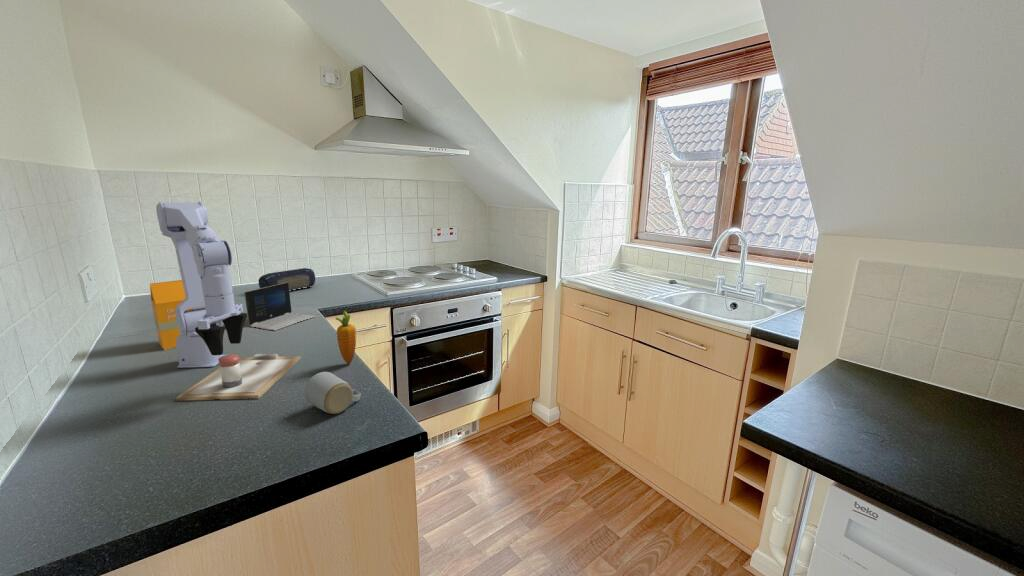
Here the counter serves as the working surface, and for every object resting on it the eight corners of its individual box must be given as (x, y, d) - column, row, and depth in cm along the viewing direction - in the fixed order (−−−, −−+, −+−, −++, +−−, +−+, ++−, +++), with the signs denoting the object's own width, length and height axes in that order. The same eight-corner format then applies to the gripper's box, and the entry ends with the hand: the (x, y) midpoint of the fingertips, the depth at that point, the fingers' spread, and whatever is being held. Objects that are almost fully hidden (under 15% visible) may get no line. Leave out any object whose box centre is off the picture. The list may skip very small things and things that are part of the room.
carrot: (352, 368, 115) (347, 315, 112) (335, 367, 116) (330, 314, 113) (361, 361, 120) (358, 310, 117) (346, 360, 121) (341, 309, 118)
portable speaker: (268, 297, 191) (265, 276, 189) (257, 294, 197) (254, 273, 194) (320, 287, 211) (318, 268, 209) (309, 285, 216) (307, 266, 214)
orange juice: (198, 343, 134) (188, 281, 129) (163, 350, 127) (151, 285, 123) (193, 337, 139) (183, 277, 134) (158, 344, 132) (147, 281, 128)
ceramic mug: (326, 421, 89) (323, 387, 87) (305, 409, 93) (302, 377, 92) (369, 402, 97) (367, 371, 96) (347, 392, 102) (345, 362, 100)
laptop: (274, 332, 145) (269, 295, 142) (248, 327, 150) (243, 291, 147) (315, 317, 162) (312, 284, 159) (291, 314, 166) (287, 282, 163)
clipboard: (177, 400, 97) (175, 393, 97) (235, 360, 120) (234, 354, 120) (258, 398, 98) (257, 391, 98) (300, 358, 122) (300, 352, 121)
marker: (218, 388, 101) (214, 361, 100) (228, 380, 105) (224, 354, 104) (236, 388, 102) (232, 360, 100) (245, 380, 105) (242, 354, 104)
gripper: (217, 301, 92) (226, 360, 95) (252, 286, 106) (259, 338, 109) (183, 301, 91) (193, 360, 94) (222, 286, 105) (230, 338, 108)
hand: (226, 348), depth 101 cm, fingers open, 7 cm apart
